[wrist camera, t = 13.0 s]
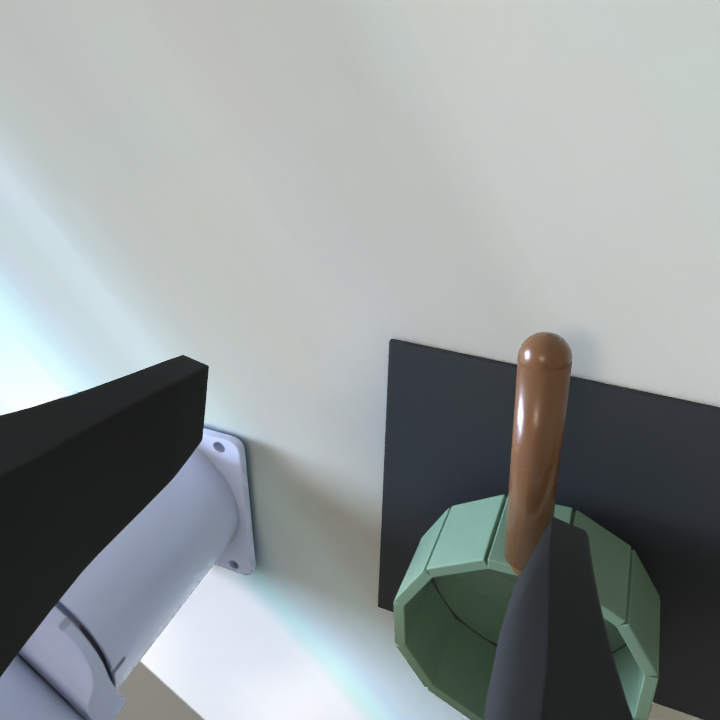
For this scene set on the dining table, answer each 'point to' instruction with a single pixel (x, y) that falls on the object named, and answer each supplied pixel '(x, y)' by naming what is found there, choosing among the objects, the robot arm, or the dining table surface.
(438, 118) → the dining table surface
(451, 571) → the frying pan
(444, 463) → the mat
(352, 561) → the dining table surface
